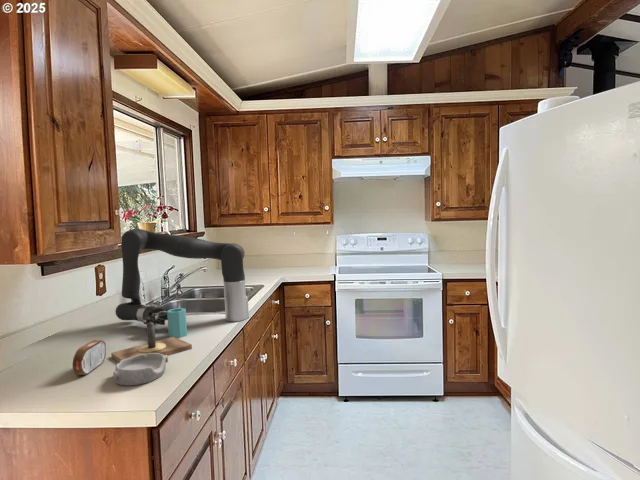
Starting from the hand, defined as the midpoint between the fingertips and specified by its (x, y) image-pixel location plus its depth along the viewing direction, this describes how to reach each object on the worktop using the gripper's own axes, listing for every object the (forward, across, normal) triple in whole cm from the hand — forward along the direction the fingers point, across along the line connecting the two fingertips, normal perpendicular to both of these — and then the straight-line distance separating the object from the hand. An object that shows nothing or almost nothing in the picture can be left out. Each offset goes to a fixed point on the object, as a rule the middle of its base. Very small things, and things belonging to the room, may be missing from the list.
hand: (173, 319), depth 161 cm
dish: (+27, -31, +6) cm, 42 cm away
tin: (+8, -36, +6) cm, 37 cm away
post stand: (+11, -17, +6) cm, 21 cm away
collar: (+2, 0, +6) cm, 6 cm away
